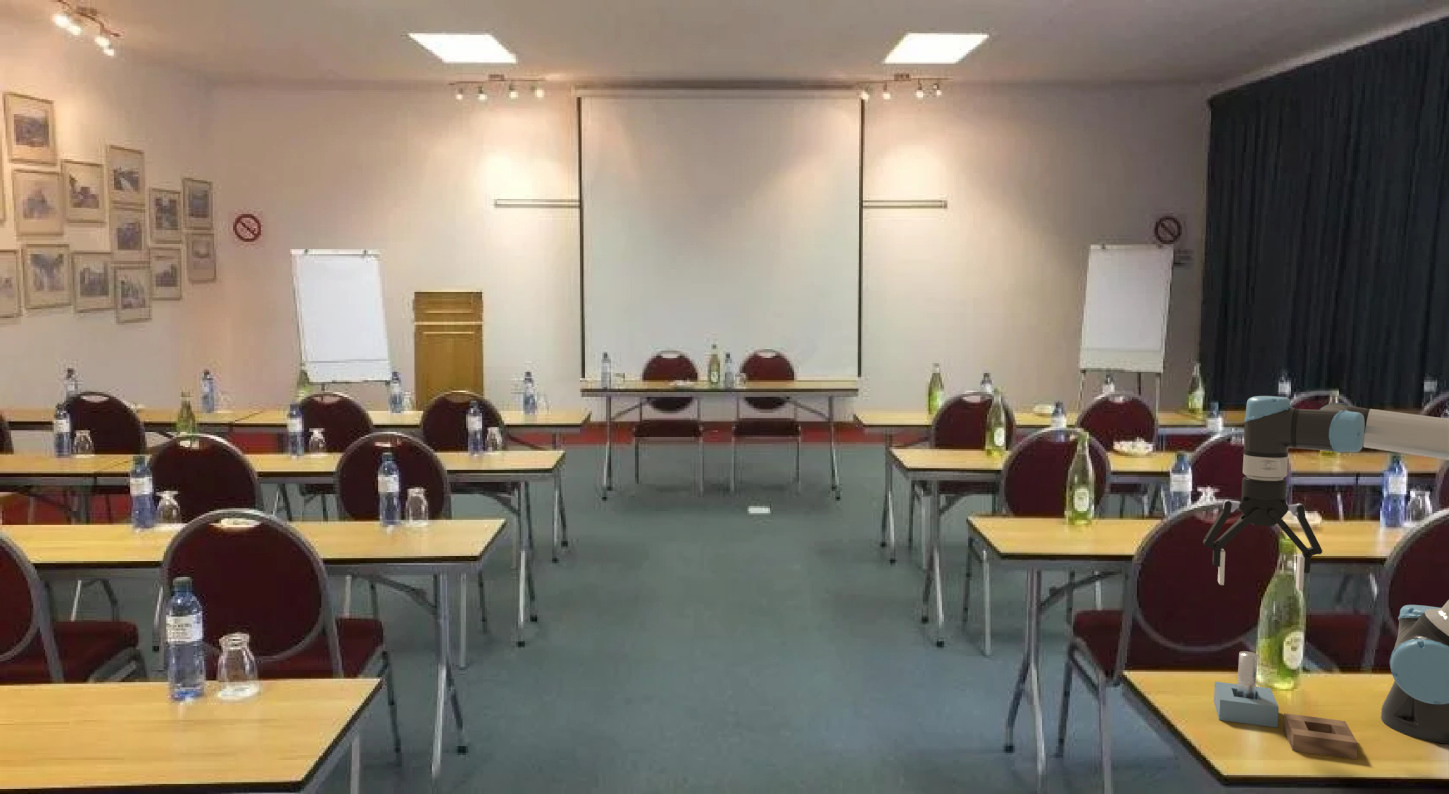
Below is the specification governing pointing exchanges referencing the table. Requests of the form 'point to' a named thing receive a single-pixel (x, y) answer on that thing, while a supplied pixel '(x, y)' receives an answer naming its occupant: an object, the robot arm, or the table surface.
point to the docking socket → (1246, 705)
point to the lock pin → (1247, 675)
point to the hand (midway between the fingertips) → (1259, 586)
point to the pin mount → (1320, 736)
